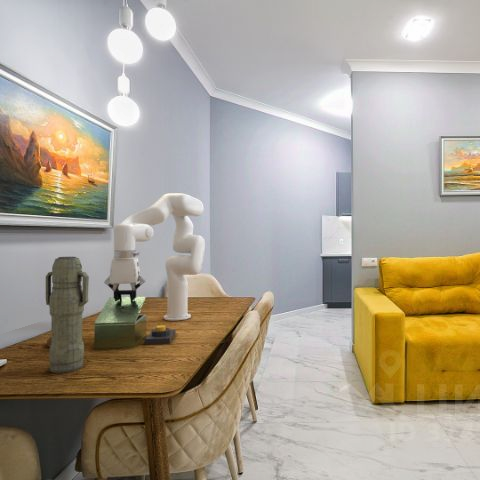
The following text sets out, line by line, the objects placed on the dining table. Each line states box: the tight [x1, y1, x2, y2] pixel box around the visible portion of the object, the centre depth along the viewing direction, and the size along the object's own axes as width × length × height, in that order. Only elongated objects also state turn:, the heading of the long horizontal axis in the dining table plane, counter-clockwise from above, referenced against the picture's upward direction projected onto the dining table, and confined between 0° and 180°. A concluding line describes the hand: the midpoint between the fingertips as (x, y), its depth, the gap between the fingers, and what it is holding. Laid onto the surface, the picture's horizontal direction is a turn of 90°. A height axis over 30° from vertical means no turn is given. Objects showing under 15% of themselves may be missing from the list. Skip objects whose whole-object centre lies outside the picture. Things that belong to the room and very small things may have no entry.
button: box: [155, 324, 167, 331], centre depth 141 cm, size 4×4×2 cm
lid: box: [93, 289, 147, 326], centre depth 136 cm, size 16×14×5 cm
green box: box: [93, 314, 147, 350], centre depth 137 cm, size 16×14×9 cm
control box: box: [144, 327, 177, 346], centre depth 141 cm, size 12×9×4 cm
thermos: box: [45, 256, 90, 374], centre depth 111 cm, size 9×12×35 cm
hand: (125, 299), depth 140 cm, fingers closed on lid, 5 cm apart
